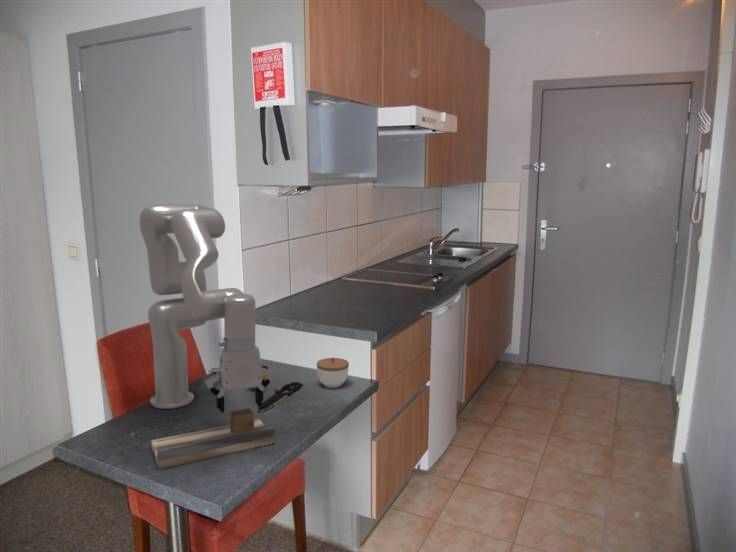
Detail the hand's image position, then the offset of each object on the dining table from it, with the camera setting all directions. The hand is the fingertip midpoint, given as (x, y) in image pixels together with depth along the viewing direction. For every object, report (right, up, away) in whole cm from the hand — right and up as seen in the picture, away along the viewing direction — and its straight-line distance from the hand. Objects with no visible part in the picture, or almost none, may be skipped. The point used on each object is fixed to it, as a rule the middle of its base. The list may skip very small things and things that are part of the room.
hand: (240, 407), depth 140 cm
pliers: (-12, -1, +54) cm, 56 cm away
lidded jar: (+21, -3, +44) cm, 49 cm away
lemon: (-3, -4, +38) cm, 38 cm away
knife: (+5, -5, +32) cm, 32 cm away
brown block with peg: (-1, -7, +3) cm, 7 cm away
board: (-7, -10, -1) cm, 12 cm away
